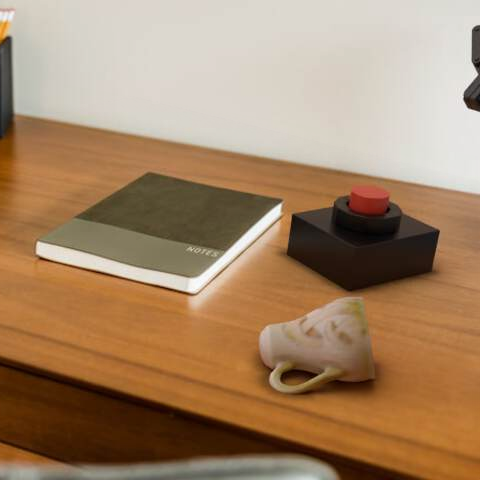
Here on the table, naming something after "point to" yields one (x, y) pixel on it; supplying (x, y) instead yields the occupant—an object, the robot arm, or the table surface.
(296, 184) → the table surface
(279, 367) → the mug
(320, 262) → the console
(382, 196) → the button
